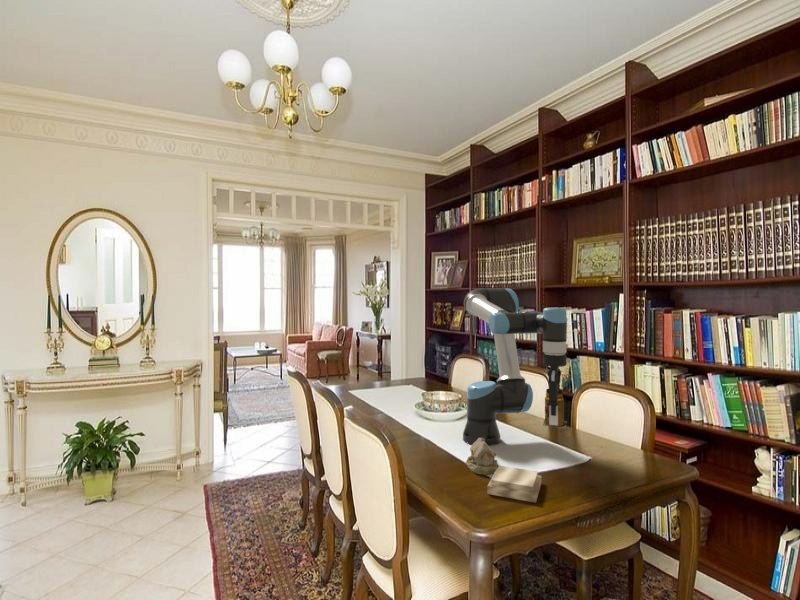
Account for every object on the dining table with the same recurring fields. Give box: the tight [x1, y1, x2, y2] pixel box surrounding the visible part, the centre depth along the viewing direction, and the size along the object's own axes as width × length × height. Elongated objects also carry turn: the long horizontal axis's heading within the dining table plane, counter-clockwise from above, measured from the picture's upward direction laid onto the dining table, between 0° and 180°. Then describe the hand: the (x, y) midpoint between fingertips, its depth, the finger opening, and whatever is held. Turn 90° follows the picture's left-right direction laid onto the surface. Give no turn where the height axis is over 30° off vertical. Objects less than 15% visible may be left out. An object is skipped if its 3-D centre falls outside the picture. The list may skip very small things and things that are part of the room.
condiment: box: [542, 388, 568, 429], centre depth 148 cm, size 7×8×12 cm
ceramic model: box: [465, 438, 498, 475], centre depth 152 cm, size 14×11×10 cm
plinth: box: [486, 465, 542, 503], centre depth 134 cm, size 14×14×4 cm
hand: (554, 421), depth 147 cm, fingers closed on condiment, 6 cm apart
